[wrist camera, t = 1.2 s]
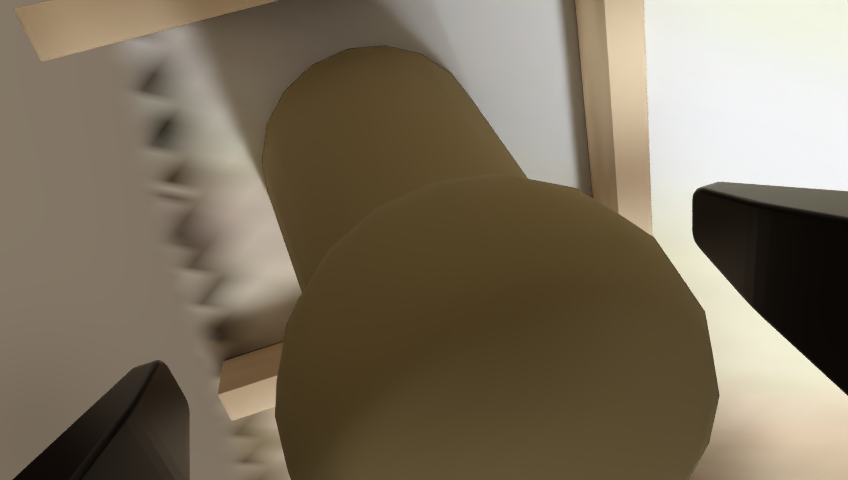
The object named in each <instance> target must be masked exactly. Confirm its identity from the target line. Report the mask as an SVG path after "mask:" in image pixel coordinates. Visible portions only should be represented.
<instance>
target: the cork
mask: <svg viewBox="0 0 848 480" xmlns="http://www.w3.org/2000/svg"><path fill="white" fill-rule="evenodd" d="M262 164H263V169H264V174H265V179H266V184H267V189H268V194H269V197H270V200H271V203H272V206H273V209H274V212H275V215H276V218H277V221H278V224H279V227H280V230H281V233H282V235H283V238H284V241H285V244H286V247H287V250H288V253H289V256H290V259H291V262H292V265H293V268H294V271H295V273H296V276H297V279H298V282H299V285H300V288H301V291H302V295H301V296H300V298H299V300H298V302H297V304H296V306H295V308H294V310H293V312H292V314H291V316H290V318H289V320H288V323H287V326H286V331H285V337H284V342H283V348H282V353H281V359H280V364H279V370H278V375H277V381H276V404H275V418H276V422H277V427H278V431H279V435H280V440H281V444H282V448H283V452H284V457H285V461H286V465H287V469H288V472H289V475H290V478H291V480H688V479H689V478H690V476H691V474H692V472H693V470H694V469H695V467H696V465H697V463H698V461H699V460H700V458H701V456H702V454H703V452H704V451H705V449H706V447H707V445H708V443H709V441H710V436H711V432H712V427H713V422H714V418H715V413H716V409H717V404H718V399H719V390H718V384H717V378H716V372H715V366H714V360H713V354H712V348H711V342H710V337H709V331H708V326H707V320H706V315H705V311H704V309H703V308H702V307H701V305H700V304H699V302H698V301H697V299H696V298H695V296H694V295H693V293H692V292H691V290H690V289H689V287H688V286H687V285H686V283H685V282H684V280H683V279H682V277H681V276H680V274H679V273H678V271H677V270H676V268H675V267H674V265H673V264H672V263H671V261H670V260H669V258H668V257H667V255H666V254H665V252H664V251H663V250H662V248H661V247H660V245H659V244H658V242H657V241H656V239H655V238H654V237H653V236H651V235H650V234H648V233H647V232H645V231H644V230H642V229H641V228H639V227H638V226H636V225H635V224H633V223H632V222H630V221H629V220H628V219H626V218H625V217H623V216H621V215H620V214H618V213H616V212H615V211H613V210H612V209H610V208H608V207H607V206H605V205H603V204H602V203H600V202H599V201H597V200H595V199H594V198H592V197H590V196H589V195H587V194H586V193H584V192H582V191H581V190H579V189H577V188H573V187H567V186H562V185H557V184H552V183H547V182H541V181H536V180H530V179H528V178H527V177H526V176H525V174H524V173H523V171H522V170H521V168H520V167H519V166H518V164H517V163H516V161H515V160H514V158H513V157H512V156H511V154H510V153H509V151H508V150H507V149H506V147H505V146H504V144H503V143H502V141H501V140H500V139H499V137H498V136H497V134H496V133H495V132H494V130H493V129H492V127H491V126H490V124H489V123H488V122H487V120H486V119H485V117H484V116H483V114H482V113H481V112H480V110H479V109H478V107H477V106H476V105H475V103H474V102H473V100H472V99H471V98H470V97H469V95H468V94H467V93H466V91H465V90H464V89H463V87H462V86H461V85H460V84H459V82H458V81H457V80H456V78H455V77H454V76H453V75H452V74H451V73H450V72H448V71H447V70H445V69H444V68H442V67H441V66H439V65H437V64H436V63H434V62H433V61H431V60H430V59H428V58H427V57H425V56H424V55H422V54H418V53H414V52H410V51H406V50H402V49H398V48H394V47H390V46H375V47H364V48H354V49H347V50H344V51H342V52H340V53H338V54H336V55H333V56H331V57H329V58H327V59H325V60H322V61H320V62H318V63H316V64H314V65H312V66H311V67H310V68H309V69H308V70H307V71H305V72H304V73H303V74H302V75H301V76H300V77H299V78H298V79H297V80H296V81H295V82H294V83H293V84H292V85H291V86H290V87H289V88H287V89H286V90H285V91H284V93H283V95H282V97H281V99H280V101H279V103H278V105H277V107H276V108H275V110H274V112H273V114H272V116H271V118H270V120H269V122H268V124H267V129H266V136H265V142H264V149H263V156H262Z"/></svg>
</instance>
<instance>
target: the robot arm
mask: <svg viewBox="0 0 848 480" xmlns="http://www.w3.org/2000/svg"><path fill="white" fill-rule="evenodd" d="M692 232H693V237H694V240H695V242H696V244H697V245H698V247H699V248H700V249H701V250H702V251H703V253H704V254H705V255H706V256H707V257H708V258H709V259H710V261H711V262H712V263H713V264H714V265H715V266H716V267H717V268H718V270H719V271H720V272H721V273H722V274H723V275H724V276H725V278H726V279H727V280H728V281H729V282H730V283H731V284H732V285H733V287H734V288H735V289H736V290H737V291H738V292H739V293H740V295H741V296H742V297H743V298H744V299H745V300H746V301H747V302H748V303H749V304H750V305H751V306H752V308H753V309H755V310H756V311H757V312H758V313H759V314H760V315H761V316H762V317H763V318H764V319H765V320H766V321H767V322H768V323H769V324H770V325H771V326H773V327H774V328H775V329H776V330H777V331H778V332H779V333H780V334H781V335H782V336H783V337H785V338H786V339H787V340H788V341H789V342H790V343H791V344H792V345H793V346H794V347H795V348H796V349H798V350H799V351H800V352H801V353H802V354H803V355H804V356H805V357H806V358H807V359H808V360H810V361H811V362H812V363H813V364H814V365H815V366H816V367H817V368H818V369H819V370H820V371H822V372H823V373H824V374H825V375H826V376H827V377H828V378H829V379H830V380H831V381H832V382H833V383H835V384H836V385H837V386H838V387H839V388H840V389H841V390H842V391H843V392H844V393H845V394H847V395H848V191H836V190H823V189H809V188H796V187H783V186H769V185H756V184H743V183H729V182H716V183H713V184H710V185H706V186H703V187H700V188H698V189H697V190H696V191H695V192H694V194H693V199H692ZM189 417H190V413H189V406H188V403H187V400H186V398H185V396H184V394H183V392H182V390H181V389H180V387H179V385H178V384H177V382H176V380H175V378H174V376H173V375H172V373H171V371H170V369H169V368H168V366H167V365H166V364H165V363H164V362H163V361H160V360H156V361H153V362H150V363H146V364H143V365H140V366H137V367H135V368H133V369H132V370H130V371H129V372H128V373H127V374H126V375H125V376H124V377H123V378H122V379H121V380H120V381H118V382H117V383H116V384H115V385H114V386H113V387H112V388H111V389H110V390H109V391H108V392H107V393H106V394H105V395H103V396H102V397H101V398H100V399H99V400H98V401H97V402H96V403H95V404H94V405H93V406H92V407H90V409H88V410H87V411H86V412H85V413H84V414H83V415H82V416H81V417H80V418H79V419H77V420H76V421H75V422H74V423H73V424H72V425H71V426H70V427H69V428H68V429H67V430H66V431H65V432H63V433H62V434H61V435H60V436H59V437H58V438H57V439H56V440H55V441H54V442H53V443H52V444H50V445H49V447H47V448H46V449H45V450H44V451H43V452H42V453H41V454H40V455H39V456H38V457H36V458H35V459H34V460H33V461H32V462H31V463H30V464H29V465H28V466H27V467H26V468H24V469H23V470H22V471H21V472H20V473H19V474H18V475H17V476H16V477H15V478H14V479H13V480H190V418H189Z"/></svg>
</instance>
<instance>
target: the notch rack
mask: <svg viewBox="0 0 848 480" xmlns="http://www.w3.org/2000/svg"><path fill="white" fill-rule="evenodd" d="M274 1H278V0H47V1H43V2H39V3H35V4H31V5H27V6H23V7H19V8H15V9H14V11H15V13H16V15H17V17H18V18H19V20H20V22H21V24H22V26H23V28H24V30H25V32H26V33H27V35H28V37H29V39H30V41H31V43H32V45H33V47H34V48H35V50H36V52H37V54H38V56H39V58H40V60H41V61H42V62H43V61H47V60H51V59H55V58H58V57H62V56H66V55H70V54H73V53H78V52H82V51H85V50H89V49H93V48H97V47H101V46H105V45H109V44H112V43H116V42H120V41H124V40H128V39H132V38H136V37H139V36H143V35H147V34H151V33H155V32H159V31H163V30H166V29H170V28H174V27H178V26H182V25H186V24H190V23H193V22H197V21H201V20H205V19H209V18H213V17H217V16H220V15H224V14H228V13H232V12H236V11H240V10H244V9H247V8H251V7H255V6H259V5H263V4H267V3H271V2H274ZM575 5H576V16H577V27H578V38H579V50H580V61H581V72H582V83H583V94H584V105H585V117H586V128H587V139H588V150H589V161H590V172H591V184H592V195H593V198H594V199H595V200H597V201H599V202H600V203H602V204H603V205H605V206H607V207H608V208H610V209H612V210H613V211H615V212H616V213H618V214H620V215H621V216H623V217H625V218H626V219H628V220H629V221H630V222H632V223H633V224H635V225H636V226H638V227H639V228H641V229H642V230H644V231H645V232H647V233H648V234H650V235H651V236H652V214H651V186H650V159H649V131H648V103H647V76H646V48H645V20H644V0H575ZM282 348H283V342H281V343H278V344H275V345H272V346H269V347H266V348H263V349H260V350H257V351H253V352H250V353H247V354H244V355H241V356H238V357H235V358H232V359H229V360H225V361H223V365H222V371H221V378H220V384H219V391H218V396H219V398H220V400H221V402H222V403H223V405H224V407H225V409H226V411H227V413H228V415H229V417H230V419H231V420H232V421H233V420H236V419H239V418H242V417H245V416H248V415H251V414H254V413H257V412H260V411H263V410H266V409H269V408H272V407H275V404H276V381H277V375H278V370H279V364H280V359H281V353H282Z"/></svg>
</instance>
